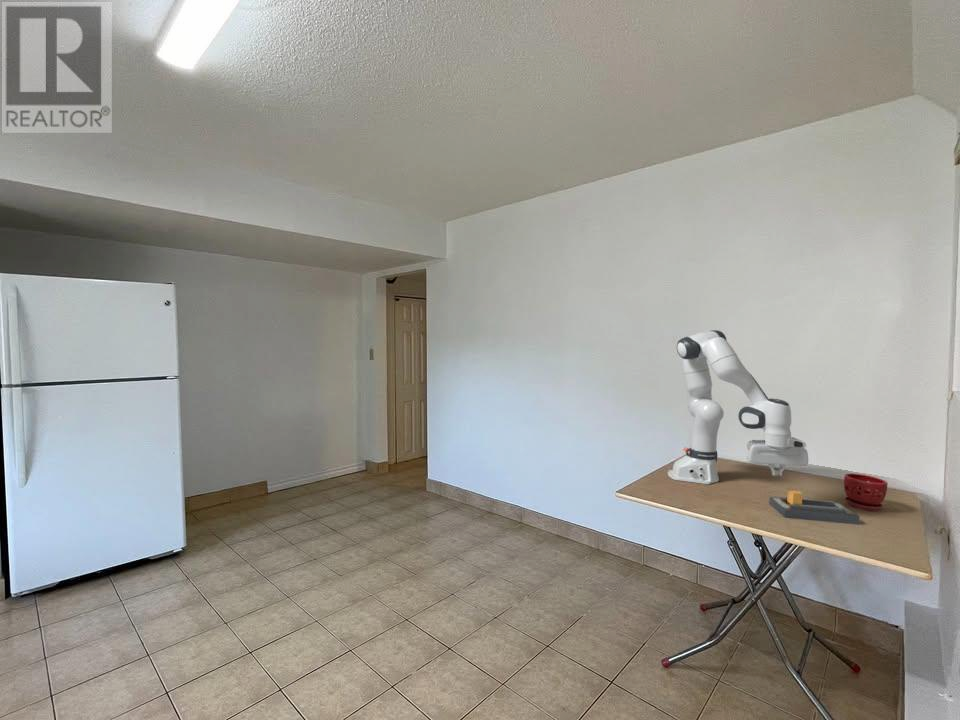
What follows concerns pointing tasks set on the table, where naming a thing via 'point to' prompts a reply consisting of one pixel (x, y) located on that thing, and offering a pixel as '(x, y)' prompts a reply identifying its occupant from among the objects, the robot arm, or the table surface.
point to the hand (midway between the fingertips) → (776, 475)
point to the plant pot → (864, 491)
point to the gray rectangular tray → (814, 510)
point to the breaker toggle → (794, 496)
